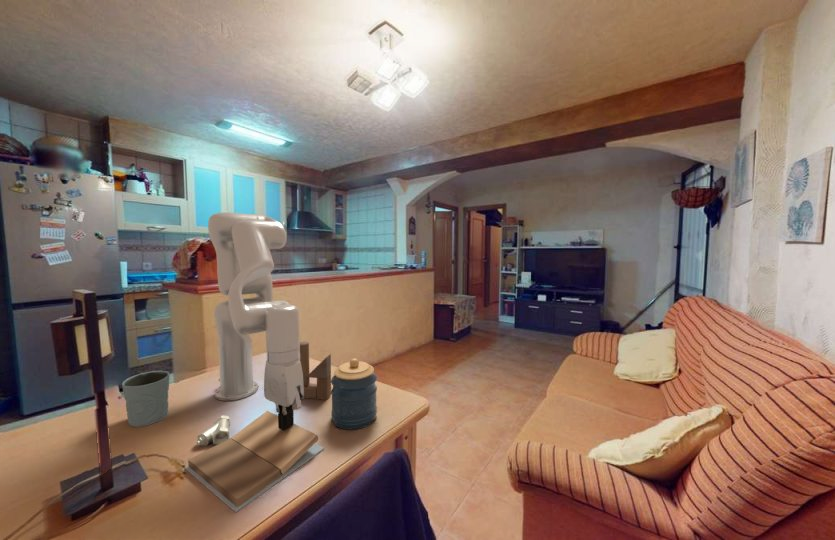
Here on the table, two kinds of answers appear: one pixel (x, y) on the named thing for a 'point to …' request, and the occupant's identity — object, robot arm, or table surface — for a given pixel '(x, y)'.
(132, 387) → the grey pot
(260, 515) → the table surface
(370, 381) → the canister
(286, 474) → the underlay mat
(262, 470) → the floor board
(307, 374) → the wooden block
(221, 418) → the pipe fitting
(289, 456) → the plank
